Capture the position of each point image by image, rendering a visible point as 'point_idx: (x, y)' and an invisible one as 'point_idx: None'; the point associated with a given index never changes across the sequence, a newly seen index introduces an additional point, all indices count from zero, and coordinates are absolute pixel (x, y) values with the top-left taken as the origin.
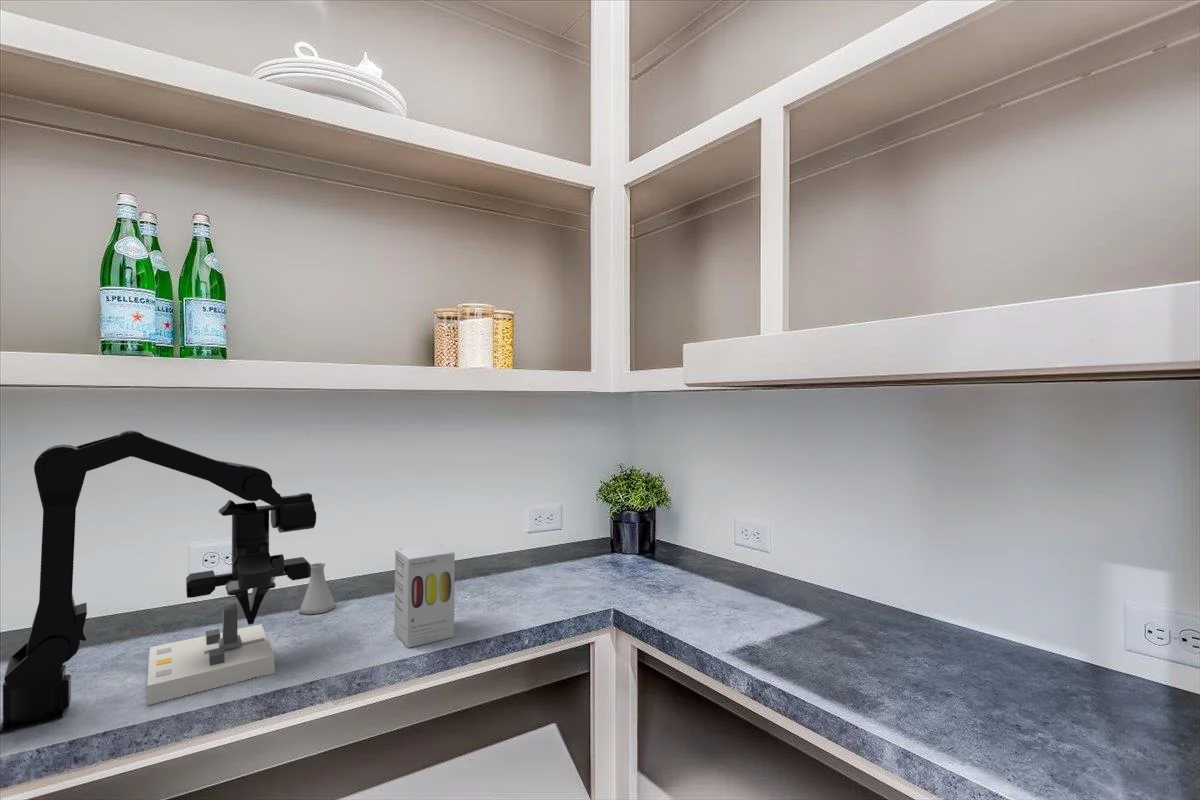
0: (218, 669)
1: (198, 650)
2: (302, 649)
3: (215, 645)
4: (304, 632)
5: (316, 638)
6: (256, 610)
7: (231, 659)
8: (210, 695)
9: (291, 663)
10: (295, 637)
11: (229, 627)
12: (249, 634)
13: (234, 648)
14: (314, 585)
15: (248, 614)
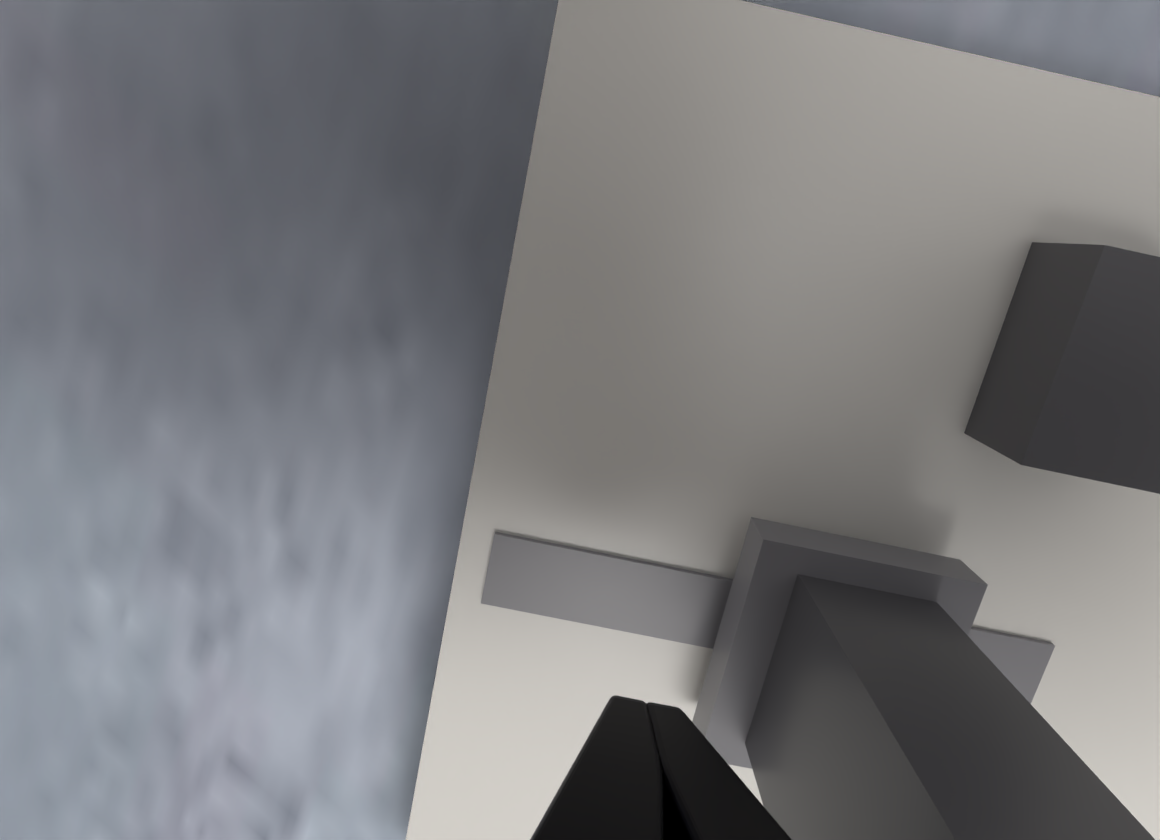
0: (1149, 100)
1: None
2: (205, 378)
3: None
4: (93, 733)
5: (36, 528)
6: (580, 820)
7: (946, 268)
8: (1142, 3)
9: (379, 127)
10: (184, 687)
11: (982, 715)
12: None
13: None
14: None
15: (723, 809)
